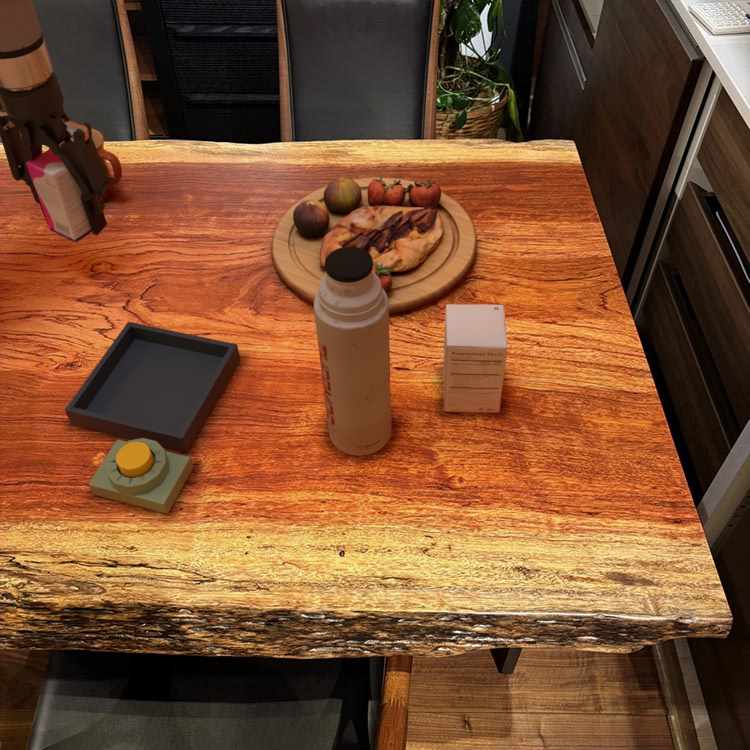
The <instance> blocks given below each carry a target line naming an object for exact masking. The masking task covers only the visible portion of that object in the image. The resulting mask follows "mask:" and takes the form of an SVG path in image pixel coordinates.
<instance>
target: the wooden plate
mask: <svg viewBox="0 0 750 750" xmlns="http://www.w3.org/2000/svg"><path fill="white" fill-rule="evenodd" d="M270 246H271V247H270V250H271V251H270V252H271V253H270V254H271V259H272V263H273V266H274V269H275V271H276V272H277V275H278V276H279V277H280V278H281V280H282V281H283V282H284V283H285V285H286V286H287V287H288V288H290V290H292V291H293V292H294V293H295V294H297V295H298V296H300V297H301V298H303V299H305V300H306V301H308V302H311V303H313V304H314V299H315V297H316V295H317V293H318V288H319V283H320V281H321V279H322V278H323V276H324V275H325V272H326V270H325V259H326V257H327V256H328V255H329V254H330V253H331V252H332V251H334V250H336V249H338V248H342V247H358V248H361V249H364V250H366V251H367V252H368V253H369V254H370V255H371V257H372V259H373V269H372V272H374V273H375V274H376V275H377V276H378V277H379V279H380V282H381V286H382V288H383V289H384V291H385V292H386V294H387V297H388V304H389V314H394V313H398V312H399V313H400V312H404V311H407V310H411V309H415V308H418V307H420V306H423V305H425V304H429V303H430V302H433V301H435V300H437V299H438V298H440V297H442V296H443V295H445V294H447V293H448V292H449V291H450V290H452V289H453V288H454V287H456V286H457V285H458V284H459V283H460V282H461V281H462V280H463V279H464V278H465V276H466V275H467V274H468V272H469V271H470V269H471V267H472V265H473V264H474V261H475V258H476V254H477V250H478V249H477V248H478V236H477V230H476V227H475V225H474V222H473V221H472V218H471V217H470V215H469V214H468V212H467V211H466V210H465V209H464V208H463V207H462V205H460V203H459V202H457V201H456V200H455V199H453V198H452V197H450V196H449V195H447V194H446V193H444V192H442V189H441V186H440V185H439V184H437V183H436V181H432V179H431V178H429V179H428V180H427V183H426V182H418V181H414V180H413V181H412V180H408V179H401V178H394V177H380V176H379V177H378V176H376V177H360V178H354V179H353V178H350V177H347V176H340V177H338V178H336V179H334V180H333V181H331V182H329V183H328V184H327V185H326V186H324V187H321V188H319V189H317V190H315V191H313V192H311V193H309V194H307V195H306V196H304V197H302V198H301V199H299V201H297V202H296V203H294V204H293V205H292V206H291V207H289V209H288V210H287V211H286V212H285V214H284V215H283V216H282V217H281V219H280V220H279V222H278V224H277V225H276V227H275V229H274V231H273V234H272V240H271V245H270Z"/></svg>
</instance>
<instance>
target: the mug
mask: <svg viewBox="0 0 750 750" xmlns="http://www.w3.org/2000/svg"><path fill="white" fill-rule="evenodd" d="M92 139H93V141H94V144H95V146H96V149H97V151H98V153H99V156H100V158H101V161H102V163H103V166H104V168H105V170H106V173H107V175H108V178H109V180H110V182H111V185H110V186H109V187H108V189H107V190H106V191H105V192H104V193H103V194H102V199H103V202H104V203H105V201H107V200H108V199H109V198H110V197H111V196H112V195H113V194H114V191H115V187H114V186H115V185H117V184H118V183H119V182H120V181H121V180H122V176H123V168H122V164H121V161H120V159H119V158H118V157H117V155H115V153H113V152H111V151H108V150H106V149H105V140H104V139H105V138H104V134H103V133H102V132H100V131H99V130H97V129H95V128H92ZM63 142H64V141H63ZM63 142H62V143H63ZM62 143H61V144H62ZM61 144H60V145H61ZM60 145H59V146H60ZM49 149H50V148H49V147H48V150H49ZM107 161H108V162H109V163H110V165H111V168H112V171H113V176H112V173H111V170H110V168H109V164H108V162H107Z"/></svg>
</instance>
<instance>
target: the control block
mask: <svg viewBox="0 0 750 750" xmlns="http://www.w3.org/2000/svg"><path fill="white" fill-rule="evenodd" d="M131 442H142V443H144V444H146V445H147V446H148V447H149V448H150V451H151V453H152V456H153V459H154V462H153V466H152V468H151V469H150V470H149V471H148V472H147V473H146V474H144V475H142V476H140V477H134V478H132V477H127V476H125V475H123V474H122V473H121V471H120V469H119V467H118V465H117V462H116V455H117V453H118V451H119V450H120V449H121V448H122V447H123V446H124V445H126V444H128V443H131ZM193 469H194V464H193V461H192V459H191V457H190V456H187V455H183V454H179V453H174V452H171V451H167V450H166V449H165V448H164V447H162V446H161V445H160V444H159V443H158V442H157V441H154V440H150V439H146V438H140V439H135V440H131V439H128V440H127V441H125V440H122V439H119V438H118V439H117V438H116V441H115V442H114V444H113V445H112V447H111V449H110V450H109V452H108V453H107V455H106V456H105V458H104V459H103V461H102V462H101V464H100V465H99V467H98V468H97V470H96V471H95V473H94V475H93V476H92V478H91V479H90V481H89V483H88V487H89V488H90V491H91V492H92V494H93V496H98V497H102V498H106V499H109V500H113V501H117V502H120V503H125V504H129V505H132V506H135V507H139V508H144V509H147V510H151V511H154V512H158V513H161V514H166V515H169V514H170V512H171V509H172V508H173V506H174V504H175V502H176V501H177V499H178V497H179V495H180V493H181V491H182V490H183V488H184V486H185V484H186V482H187V480H188V478H189V477H190V475H191V473H192V471H193Z"/></svg>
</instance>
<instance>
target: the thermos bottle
mask: <svg viewBox="0 0 750 750" xmlns="http://www.w3.org/2000/svg"><path fill="white" fill-rule="evenodd" d="M372 269H373V259H372V257H371V255H370V254H369V253H368V252H367V251H366V250H364V249H361V248H358V247H342V248H338V249H336V250H334V251H332V252H331V253H330V254H329V255H328V256H327V257H326V259H325V270H326V272H325V275H324V276H323V278H322V279H321V281H320V283H319V288H318V293H317V295H316V297H315V299H314V303H313V313H314V320H315V329H316V338H317V346H318V347H317V348H318V351H319V352H318V354H319V361H320V362H319V363H320V370H321V376H322V386H323V387H322V388H323V395H324V396H323V397H324V403H325V405H324V406H325V412H326V421H327V430H328V436H329V440H330V441H331V443H332V444H333V446H334V447H335V448H336V449H338V450H339V451H340V452H342V453H344V454H347V455H350V456H359V457H361V456H362V457H363V456H368V455H372V454H375V453H376V452H378V451H381V450H382V448H384V447H385V446H386V445H387V444H388V443H389V441H390V438H391V436H392V427H393V426H392V425H393V423H392V396H391V394H392V393H391V352H390V351H391V349H390V347H391V346H390V313H389V304H388V297H387V294H386V292H385V291H384V289H383V288H382V286H381V282H380V279H379V277H378V276H377V275H376V274H375V273H374V272H372Z"/></svg>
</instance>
